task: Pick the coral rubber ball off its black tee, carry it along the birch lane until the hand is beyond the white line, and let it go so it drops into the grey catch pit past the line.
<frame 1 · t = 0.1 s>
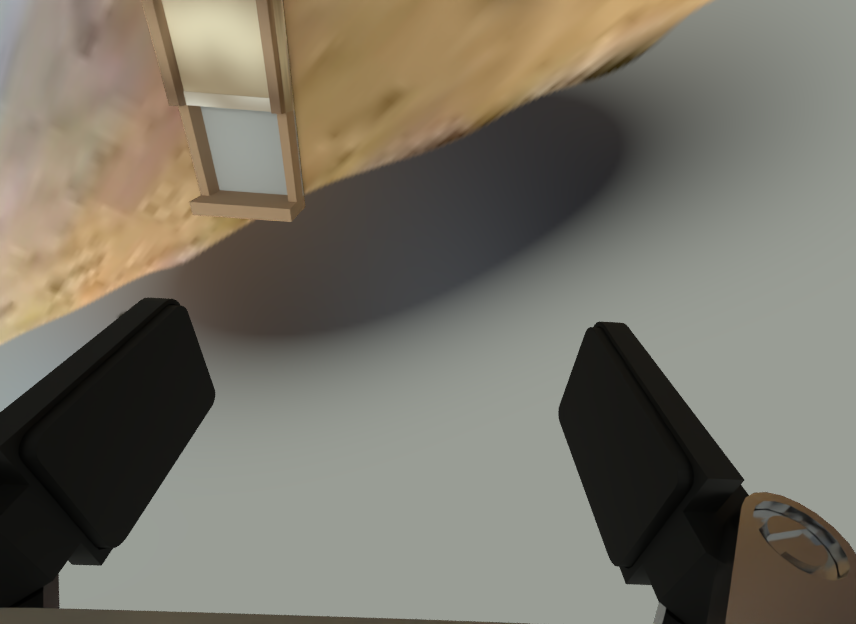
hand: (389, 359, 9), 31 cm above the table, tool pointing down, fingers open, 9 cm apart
lane: (232, 37, 31), on the table
pit: (251, 151, 36), on the table
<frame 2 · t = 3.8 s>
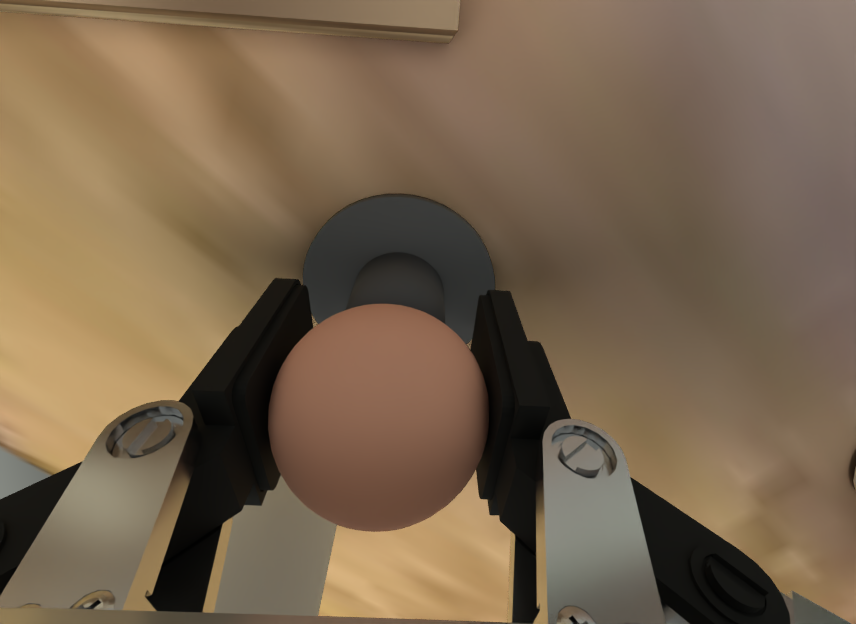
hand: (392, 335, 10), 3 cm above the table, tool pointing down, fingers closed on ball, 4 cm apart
beverage can: (296, 489, 19), on the table
ball: (392, 344, 10), point 3 cm above the table, touching gripper, tee
tee: (400, 287, 12), on the table
when the fingers open (3 cm above the table, at t = 8.4 s): ball drops 3 cm, resting on pit.
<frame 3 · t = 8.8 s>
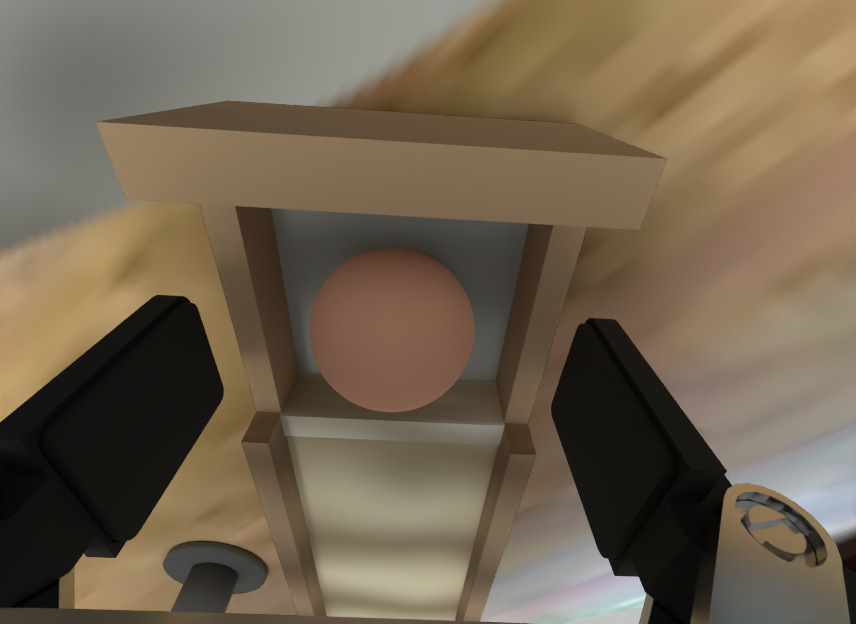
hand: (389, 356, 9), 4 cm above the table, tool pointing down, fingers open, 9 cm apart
lane: (397, 451, 17), on the table
pit: (400, 282, 12), on the table
ball: (399, 289, 12), resting on pit
tee: (218, 565, 23), on the table
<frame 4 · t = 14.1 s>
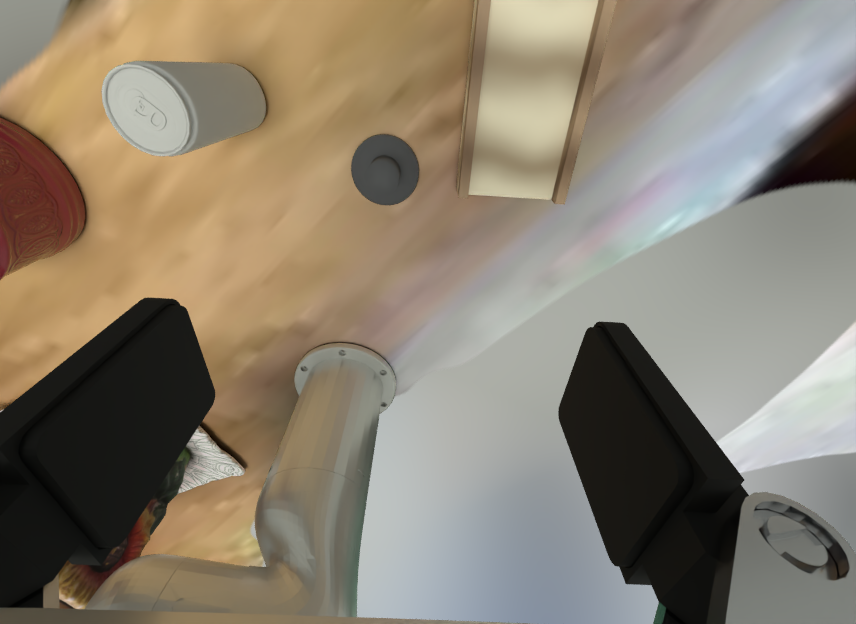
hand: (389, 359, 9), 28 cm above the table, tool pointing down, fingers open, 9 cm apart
canister: (15, 184, 35), on the table
lane: (534, 10, 28), on the table
cookie jar: (133, 437, 55), on the table
beverage can: (240, 98, 31), on the table
tee: (385, 170, 34), on the table
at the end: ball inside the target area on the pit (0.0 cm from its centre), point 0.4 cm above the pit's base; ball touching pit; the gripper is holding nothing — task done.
